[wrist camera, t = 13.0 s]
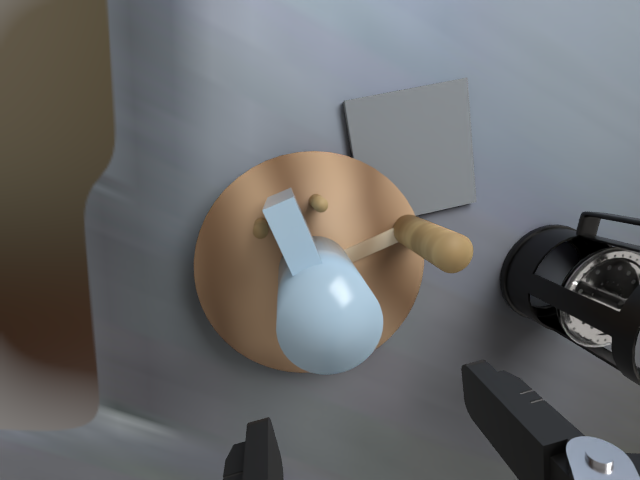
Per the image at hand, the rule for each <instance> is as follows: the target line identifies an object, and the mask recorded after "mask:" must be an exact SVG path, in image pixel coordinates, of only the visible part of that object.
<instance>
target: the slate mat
mask: <svg viewBox="0 0 640 480" xmlns="http://www.w3.org/2000/svg"><path fill="white" fill-rule="evenodd" d="M343 106H344V112H345V118H346V124H347V130H348V136H349V142H350V148H351V155H352V158H354V159H356V160H359V161H362V162H363V163H365V164H367V165H369V166H371V167H373V168H375V169H376V170H377V171H379V172H380V173H382V174H383V175H384V176H386V177H387V178H388V179H389V180H390V181H391V182H392V183H393V184H394V185H395V186H396V187H397V188H398V189H399V190H400V191H401V193H402V194H403V195H404V197H405V198H406V199H407V201H408V203H409V204H410V206H411V208H412V210H413V211H414V214H415V216H417V215H421V214H425V213H430V212H434V211H439V210H443V209H448V208H452V207H456V206H461V205H465V204H470V203H474V202H476V190H475V176H474V162H473V148H472V134H471V120H470V106H469V92H468V78H463V79H457V80H452V81H447V82H441V83H436V84H431V85H426V86H420V87H415V88H410V89H404V90H399V91H394V92H389V93H383V94H378V95H373V96H367V97H362V98H357V99H351V100H346V101H344V102H343Z"/></svg>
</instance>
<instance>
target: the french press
mask: <svg viewBox="0 0 640 480" xmlns="http://www.w3.org/2000/svg"><path fill="white" fill-rule="evenodd" d="M600 219H606V220H612V221H617V222H623V223H628V224H633V225H639V226H640V219H638V218H632V217H626V216H620V215H614V214H608V213H600V212H583V213H581V216H580V219H579V223H578V227H577V230H575V229H573V228H570V227H568V226H562V225H547V226H543V227H539V228H537V229H535V230H533V231H530V232H529V233H528V234H526V235H525V236H523V237H522V238H521V239H520V240H519V241H518V242H517V243H516V244H515V245H514V246H513V248H512V249H511V250H510V252H509V253H508V255H507V257H506V259H505V261H504V264H503V268H502V271H501V279H500V281H501V290H502V294H503V297H504V299H505V300H506V302H507V304H508V305H509V306H510V307H511V308H512V309H513V310H514V311H515V312H517V313H518V314H520V315H522V316H524V317H527V318H531V319H532V320H534V321H536V322H537V323H539V324H541V325H542V326H544V327H545V328H548V329H551V330H553V331H555V332H557V333H559V334H560V335H562V336H563V337H565V338H567V339H568V340H570V341H572V342H573V343H575V344H577V345H578V346H580V347H582V348H583V349H585V350H587V351H588V352H590V353H591V354H593V355H595V356H596V357H598V358H600V359H601V360H603V361H605V362H606V363H608V364H610V365H611V366H613V367H614V368H616V369H618V370H619V371H621V372H622V374H623V375H624V376H626V377H627V378H629V379H630V380H632V381H633V382H635V383H637V384H638V385H640V368H639V367H637V366H636V364H635V346H636V341H637V337H638V334H639V331H640V246H636V245H632V244H628V243H624V242H620V241H616V240H611V239H607V238H603V237H599V236H596V234H597V230H598V226H599V223H600ZM565 241H567V242H569V243H570V244H571V245H572V246H573V247H574V248H575V249H576V251H577V253H578V256H579V261H580V262H579V263H578V264H577V265H576V266H575V267H574V268H573V269H572V270H571V271H570V272H569V274H568V275H567V276H566V278H565V279H564V281H563V283H562V285H561V286H560V285H558V284H556V283H554V282H551V281H549V280H547V279H544V278H542V277H540V276H538V275H535V274H534V273H535V271H536V270H537V268H538V266H539V264H540V263H541V262H542V260H543V259H544V258H545V256H546V255H547V254H548V253H549V252H550V251H552V250H553V249H554V248H555V247H557V246H558V245H560V244H561V243H563V242H565ZM612 246H616V247H612ZM530 294H531V295H533V296H535V297H536V298H538V299H540V300H542V301H544V302H546V303H548V304H550V305H548V306H541V307H538V306H532V305H531V303H530ZM610 344H612V348H611V349H612V352H611V351H609V350H607V349H605V348H604V346H607V345H610Z"/></svg>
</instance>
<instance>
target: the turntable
mask: <svg viewBox="0 0 640 480" xmlns="http://www.w3.org/2000/svg"><path fill="white" fill-rule="evenodd" d="M288 188H291V189H292V191H293V193H294V195H295V198H296V200H297V202H298V205H299V207H300V209H301V212H302V214H303V216H304V219H305V221H306V223H307V226H308V228H309V230H310V232H311V235H312V236H322V237H326V238H329V239H331V240H333V241H335V242H336V243H338V244H339V245H340V246H341V247H342V248H343V249H344V251H345V252H346V254H347V255H348V257H349V258H350V260H351V261H352V263H353V264H354V266H355V267H356V269H357V270H358V272H359V273H360V275H361V276H362V278H363V279H364V281H365V282H366V284H367V285H368V287H369V288H370V290H371V291H372V293H373V294H374V296H375V297H376V299H377V300H378V302H379V304H380V307H381V310H382V314H383V331H382V335H381V338H380V340H379V343H378V345H377V346H376V348H375V349H377V348H378V347H380V346H381V345H382V344H383V343H384V342H385V341H387V340H388V339H389V338H390V337H391V336H392V335H393V334H394V332H395V331H396V330H397V329H398V328H399V327H400V325H401V324H402V323H403V321H404V320H405V318H406V317H407V315H408V313H409V312H410V310H411V308H412V306H413V304H414V302H415V299H416V297H417V294H418V292H419V288H420V285H421V281H422V275H423V268H424V259H425V260H427V261H428V262H430V263H432V264H433V265H435V266H436V267H438V268H439V269H441V270H442V271H444V272H447V273H456V272H459V271H461V270H463V269H464V268H465V267H466V266H467V265H468V264H469V263H470V261H471V259H472V256H473V246H472V243H471V241H470V240H469V239H468V238H467V237H466V236H464V235H462V234H459V233H457V232H454V231H452V230H449V229H447V228H444V227H442V226H439V225H437V224H434V223H432V222H429V221H427V220H424V219H421V218H419V217H416V216H415V214H414V211H413V210H412V208H411V206H410V204H409V203H408V201H407V199H406V198H405V197H404V195H403V194H402V193H401V191H400V190H399V189H398V188H397V187H396V186H395V185H394V184H393V183H392V182H391V181H390V180H389V179H388V178H387V177H386V176H384V175H383V174H382V173H380V172H379V171H377V170H376V169H375V168H373V167H371V166H369V165H367V164H365V163H363V162H362V161H359V160H356V159H354V158H351V157H348V156H345V155H340V154H336V153H331V152H318V151H310V152H297V153H292V154H287V155H282V156H279V157H276V158H273V159H270V160H267V161H265V162H263V163H261V164H259V165H257V166H255V167H253V168H251V169H250V170H248V171H247V172H245V173H244V174H243V175H241V176H240V177H238V178H237V179H236V180H235V181H234V182H233V183H232V184H230V185H229V186H228V187H227V188H226V189H225V190H224V191H223V193H222V194H221V195H220V196H219V197H218V199H217V200H216V201H215V202H214V204H213V206H212V207H211V209H210V211H209V212H208V214H207V215H206V218H205V220H204V222H203V225H202V227H201V229H200V232H199V236H198V239H197V243H196V248H195V256H194V278H195V285H196V291H197V294H198V297H199V300H200V303H201V306H202V308H203V310H204V312H205V314H206V317H207V318H208V320H209V321H210V323H211V325H212V326H213V328H214V329H215V330H216V332H217V333H218V334H219V335H220V336H221V337H222V338H223V339H224V341H225V342H227V343H228V344H229V345H230V346H231V347H232V348H234V349H235V350H236V351H237V352H239V353H241V354H242V355H244V356H245V357H247V358H248V359H251V360H253V361H255V362H257V363H259V364H261V365H264V366H267V367H270V368H273V369H277V370H282V371H287V372H299V373H307V372H308V371H305V370H303V369H301V368H299V367H298V366H296V365H295V364H293V363H292V362H291V361H290V360H289V359H288V358H287V357H286V355H285V354H284V353H283V351H282V349H281V347H280V345H279V343H278V339H277V333H276V321H277V295H278V269H279V263H280V260H281V257H282V255H283V254H282V252H281V250H280V248H279V246H278V243H277V241H276V239H275V237H274V235H273V233H272V230H271V228H270V226H269V224H268V222H267V220H266V218H265V215H264V213H263V211H262V210H263V207H264V204H265V202H266V199H267V197H270V196H272V195H274V194H277V193H279V192H281V191H284V190H286V189H288Z"/></svg>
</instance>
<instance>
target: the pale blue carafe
mask: <svg viewBox="0 0 640 480" xmlns="http://www.w3.org/2000/svg"><path fill="white" fill-rule="evenodd" d="M262 211H263V213H264V215H265V218H266V220H267V222H268V224H269V226H270V228H271V230H272V233H273V235H274V237H275V239H276V241H277V243H278V246H279V248H280V250H281V252H282V254H283V255H282V257H281V260H280V263H279V269H278V295H277V321H276V333H277V339H278V343H279V345H280V347H281V349H282V351H283V353H284V354H285V355H286V357H287V358H288V359H289V360H290V361H291V362H292V363H293V364H295V365H296V366H298V367H299V368H301V369H303V370H305V371H308V372H311V373H315V374H323V375H329V374H338V373H342V372H345V371H348V370H350V369H352V368H354V367H356V366H358V365H359V364H361V363H362V362H363V361H365V360H366V359H367V358H368V357H369V356H370V355H371V354H372V352H373V351H374V350H375V348H376V346H377V345H378V343H379V340H380V338H381V335H382V331H383V314H382V310H381V307H380V304H379V302H378V300H377V299H376V297H375V296H374V294H373V293H372V291H371V290H370V288H369V287H368V285H367V284H366V282H365V281H364V279H363V278H362V276H361V275H360V273H359V272H358V270H357V269H356V267H355V266H354V264H353V263H352V261H351V260H350V258H349V257H348V255H347V254H346V252H345V251H344V249H343V248H342V247H341V246H340V245H339V244H338V243H336V242H335V241H333V240H331V239H329V238H326V237H322V236H312V235H311V232H310V230H309V228H308V226H307V223H306V221H305V219H304V216H303V214H302V212H301V209H300V207H299V205H298V202H297V200H296V198H295V195H294V193H293V191H292V189H291V188H288V189H286V190H284V191H281V192H279V193H277V194H274V195H272V196H270V197H267V199H266V202H265V204H264V207H263V210H262Z"/></svg>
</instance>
